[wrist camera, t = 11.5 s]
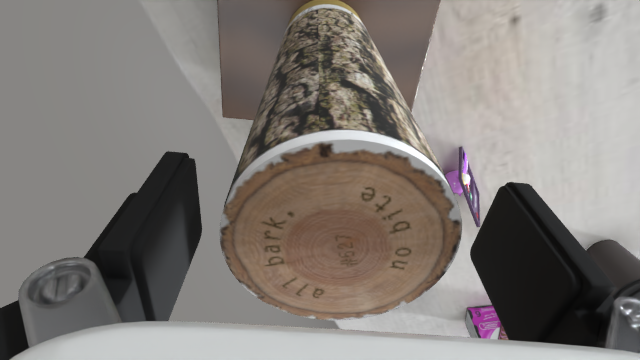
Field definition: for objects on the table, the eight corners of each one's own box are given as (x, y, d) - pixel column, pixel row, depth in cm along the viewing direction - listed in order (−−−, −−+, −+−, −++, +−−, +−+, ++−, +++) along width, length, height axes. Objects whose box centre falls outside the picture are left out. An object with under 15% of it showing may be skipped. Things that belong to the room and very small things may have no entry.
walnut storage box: (240, -81, 35) (213, -88, 26) (421, -58, 36) (455, -57, 27) (242, 80, 44) (222, 117, 35) (388, 94, 45) (406, 134, 36)
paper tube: (294, 85, 33) (256, 330, 12) (277, 5, 30) (180, 162, 9) (368, 72, 33) (458, 307, 12) (360, -12, 29) (469, 115, 8)
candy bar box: (527, 300, 67) (580, 392, 54) (523, 317, 70) (572, 408, 56) (465, 306, 68) (502, 398, 54) (463, 322, 71) (498, 414, 57)
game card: (485, 226, 48) (467, 176, 44) (446, 231, 51) (425, 184, 47) (484, 192, 53) (468, 144, 49) (448, 198, 56) (429, 153, 51)
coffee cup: (640, 238, 59) (693, 288, 51) (606, 272, 63) (650, 322, 55) (596, 229, 58) (643, 278, 49) (565, 264, 62) (604, 314, 54)
